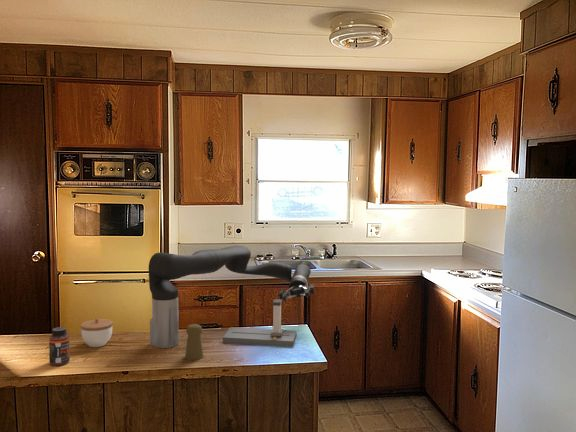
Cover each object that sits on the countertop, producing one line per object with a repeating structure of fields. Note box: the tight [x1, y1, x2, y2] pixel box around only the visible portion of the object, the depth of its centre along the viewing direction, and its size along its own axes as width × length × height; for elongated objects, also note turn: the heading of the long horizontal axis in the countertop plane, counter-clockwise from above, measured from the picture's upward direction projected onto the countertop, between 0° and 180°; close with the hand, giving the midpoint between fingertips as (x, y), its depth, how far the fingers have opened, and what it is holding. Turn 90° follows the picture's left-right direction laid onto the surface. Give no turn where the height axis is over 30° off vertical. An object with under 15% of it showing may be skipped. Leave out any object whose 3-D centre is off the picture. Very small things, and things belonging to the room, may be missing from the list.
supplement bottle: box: [48, 326, 71, 367], centre depth 154 cm, size 6×6×11 cm
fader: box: [271, 298, 284, 336], centre depth 179 cm, size 4×5×13 cm
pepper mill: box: [184, 323, 204, 361], centre depth 161 cm, size 6×6×11 cm
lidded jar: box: [80, 318, 114, 348], centre depth 172 cm, size 11×11×9 cm
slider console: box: [222, 326, 298, 348], centre depth 180 cm, size 26×12×2 cm, turn 83°
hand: (295, 297), depth 187 cm, fingers open, 8 cm apart
